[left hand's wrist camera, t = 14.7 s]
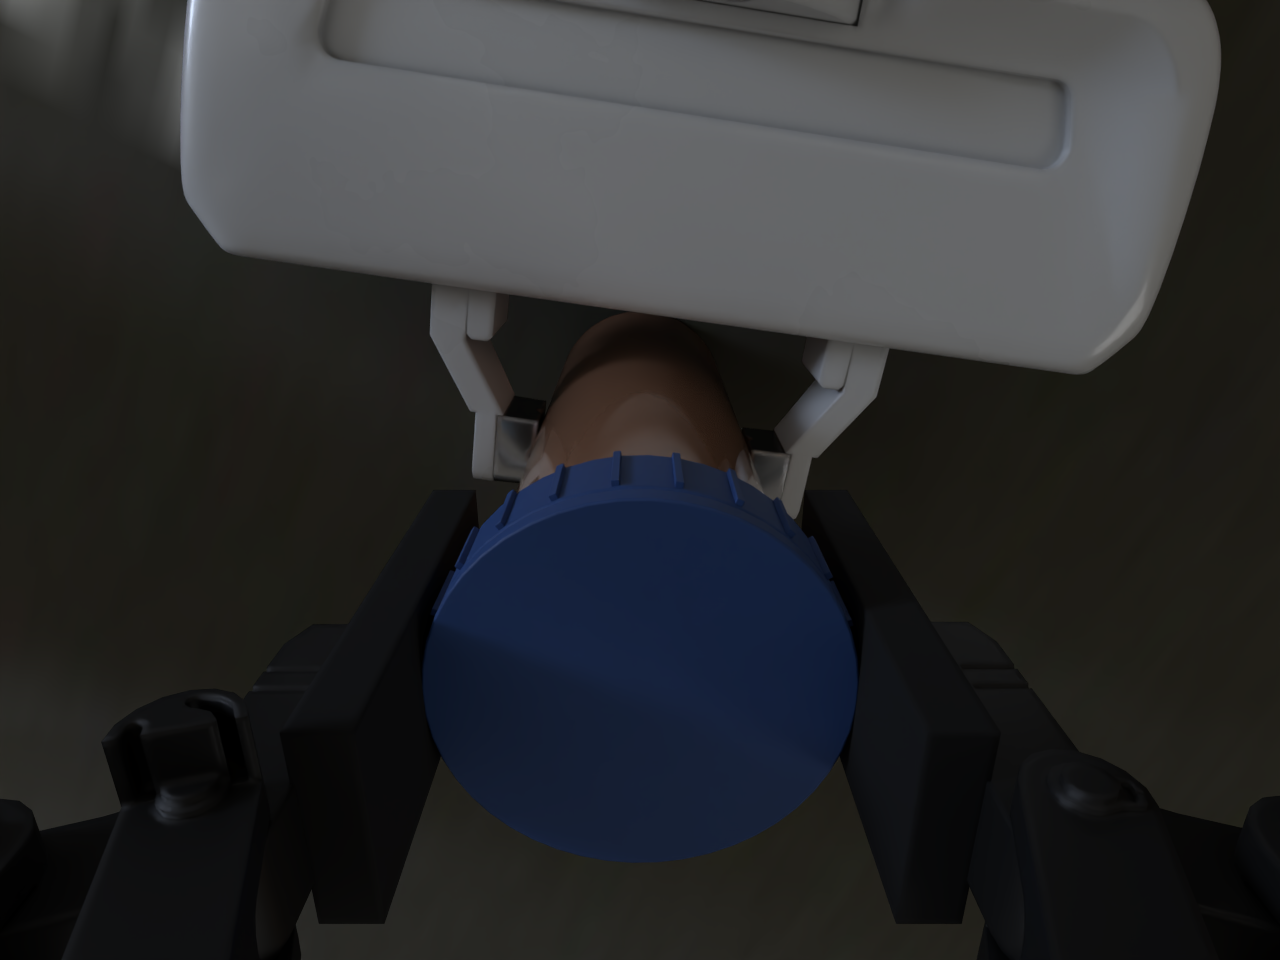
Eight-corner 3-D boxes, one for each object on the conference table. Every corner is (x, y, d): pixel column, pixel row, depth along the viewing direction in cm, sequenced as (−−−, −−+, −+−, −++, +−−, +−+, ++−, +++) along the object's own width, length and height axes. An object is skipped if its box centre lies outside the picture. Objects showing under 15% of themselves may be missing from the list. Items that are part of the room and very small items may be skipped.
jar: (689, 482, 27) (747, 852, 12) (543, 439, 26) (424, 774, 12) (742, 339, 25) (880, 575, 11) (585, 289, 24) (507, 467, 10)
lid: (755, 822, 14) (770, 906, 12) (408, 737, 13) (376, 813, 11) (901, 516, 12) (940, 571, 10) (494, 395, 11) (471, 433, 9)
